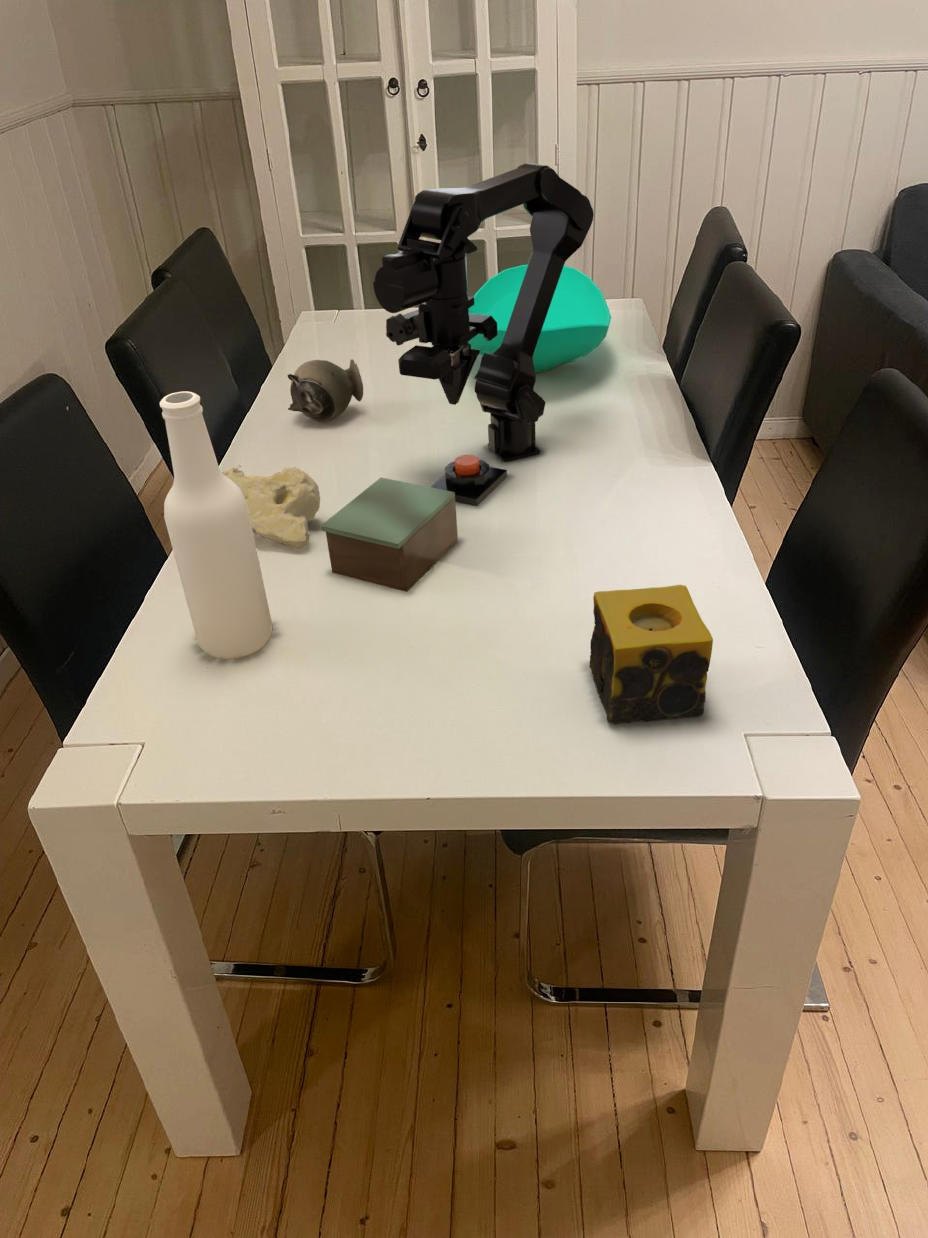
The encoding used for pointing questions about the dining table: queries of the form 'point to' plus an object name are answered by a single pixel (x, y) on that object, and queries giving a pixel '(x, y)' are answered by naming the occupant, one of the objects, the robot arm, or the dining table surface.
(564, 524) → the dining table surface
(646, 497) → the dining table surface
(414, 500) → the sage green panel
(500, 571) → the dining table surface
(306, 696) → the dining table surface
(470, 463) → the button
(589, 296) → the table top decor
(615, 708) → the candle
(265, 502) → the animal skull
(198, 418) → the alcohol
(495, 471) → the black button base
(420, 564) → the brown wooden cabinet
